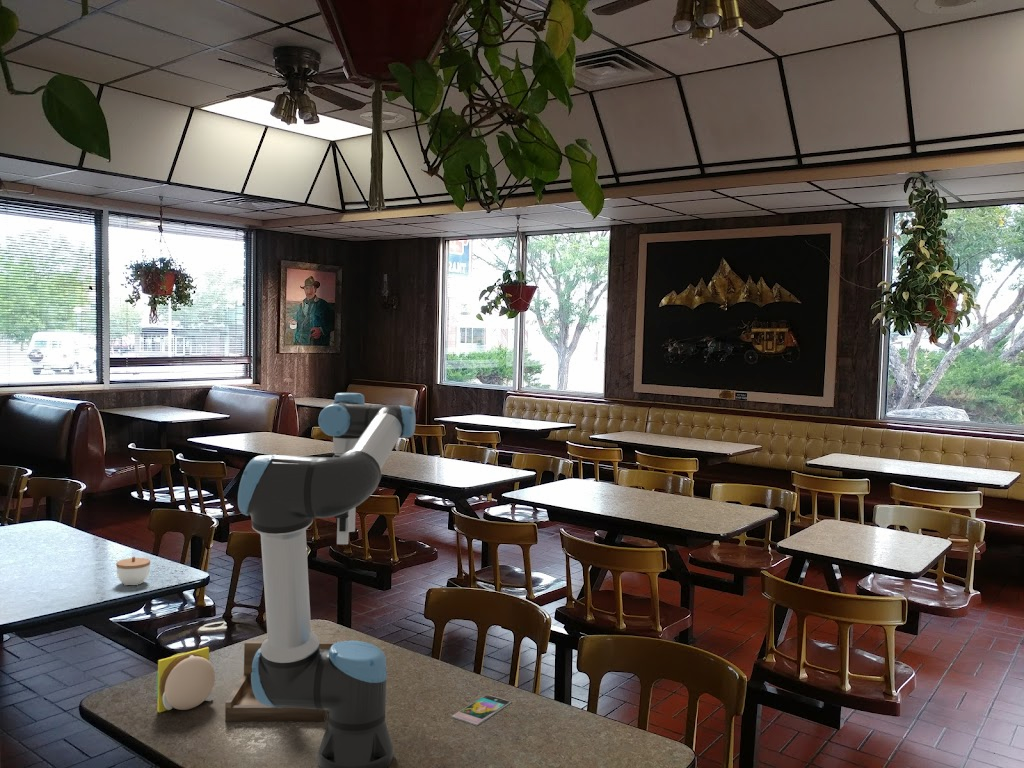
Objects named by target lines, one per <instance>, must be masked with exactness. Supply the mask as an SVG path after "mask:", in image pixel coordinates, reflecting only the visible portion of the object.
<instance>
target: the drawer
mask: <svg viewBox="0 0 1024 768" xmlns="http://www.w3.org/2000/svg"><path fill="white" fill-rule="evenodd" d="M265 640H266V639H264V640H263V639H262V640H261V639H258V640H257V639H255V640H249V639H247V640H245V641H244V643H243V645H244V647H243V649H244V650H243V651H244V653H243V675H242V676H241V677H240V679H239V681H238V683H237V684H236V685H235V687H234V688H233V691H231V693H230V695H229V696H228V698H227V699H226V701H225V715H224V716H225V718H224V721H225V722H229V723H231V722H232V723H233V722H237V723H238V722H239V723H242V722H248V723H249V722H252V723H253V722H259V723H262V722H271V723H272V722H274V723H275V722H276V723H277V722H278V723H279V722H281V723H282V722H285V723H286V722H293V723H294V722H295V723H297V722H298V723H299V722H303V723H304V722H306V723H309V722H311V723H312V722H317V723H318V722H322V723H323V722H325V721H326V718H327V717H328V710H321V709H304V708H288V707H284V708H278V707H274V706H266V705H263V704H261V703H259V702H258V700H257V699H256V698H255V696H254V693H253V690H252V684H251V673H252V663H253V659H254V656H255V654H256V652H257V651H258V650H259V649H260V648H261V645H262V643H263V642H264V641H265ZM337 642H338V640H319V647H320V649H324V650H330V648H331V646H332V645H333V644H335V643H337Z"/></svg>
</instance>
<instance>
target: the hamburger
mask: <svg viewBox="0 0 1024 768" xmlns="http://www.w3.org/2000/svg"><path fill="white" fill-rule="evenodd" d="M214 669H215V668H214V667H213V665H212V663H211V662H210V648H209V646H206V647H203V648H199V649H194V650H192V651H187V652H179V653H176V654H173V655H171V656H169V657H166V658H161V659H158V660H157V672H156V678H155V681H156V682H155V684H156V699H157V703H156V704H157V706H156V707H157V709H156V710H157V711H156V712H157V713H162V712H165V711H170V710H172V709H176V710H178V711H179V710H180V711H187V710H192V709H194V708H196V707H197V706H199V705H201V704H202V703H203V702H212V701H213V699H214V694H213V693H212V690H213V687H214V686H215V685H214V684H215V682H216V680H215V679H216V675H215V673H216V672H215V670H214Z"/></svg>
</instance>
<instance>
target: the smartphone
mask: <svg viewBox="0 0 1024 768" xmlns="http://www.w3.org/2000/svg"><path fill="white" fill-rule="evenodd" d="M511 703H512V701H510V700H507V699H503V698H501V697H498V696H493V695H490V694H485V695H484V696H481V697H480V698H479V699H477V700H475V701H474V702H472V703H470V704H469V705H468V706H466V707H463V708H462V709H460V710H459V711H458V712H455V713H454V714H453V715H451V718H452V719H453V720H454V719H455V720H458V721H461V722H464V723H466V724H470V725H473V726H479V725H480V724H482V723H483V722H485V721H486V720H488V719H489V718H491V717H493V716H494V715H496V713H498V712H499V711H501V710H503V709H505V708H506V707H507V706H509V705H510V704H511Z"/></svg>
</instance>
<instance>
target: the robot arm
mask: <svg viewBox="0 0 1024 768" xmlns="http://www.w3.org/2000/svg"><path fill="white" fill-rule="evenodd" d="M416 421H417V418H416V411H415V409H414V407H412V406H408V405H400V404H398V405H396V404H395V405H394V404H393V405H392V404H391V405H390V404H367V403H365V395H364V394H362V393H359V392H337V393H336V394H335V396H334V400H333V403H331V404H328V405H326V407H324V408H323V409H321V411H320V413H319V416H318V420H317V422H318V426H319V428H320V430H321V431H322V433H324V434H325V435H327V436H330V437H333V438H332V443H333V444H332V452H333V453H334V455H332V457H330V456H329V457H328V456H327V457H326V456H322V457H321V456H302V455H301V456H299V455H280V454H279V455H278V454H276V453H275V454H268V455H267V454H264V455H261V454H260V455H257V456H255V457H252V459H250V460H249V462H248V463H247V464H246V466H245V469H244V470H243V473H242V475H241V478H240V480H239V481H240V482H239V486H238V491H237V506H238V507H237V508H238V509H239V513H241V514H242V515H243V516H244V515H245V516H247V517H248V516H250V517H251V518H250V519H251V528H252V530H253V531H255V532H256V533H258V534H259V535H260V544H261V545H260V547H261V559H262V560H261V561H262V572H263V573H262V576H263V588H264V589H263V590H264V603H265V604H264V605H265V617H266V618H265V620H266V633H267V636H266V637H267V638H266V639H264V640H265V641H264V642H263V643H262V645H261V648H260V649H259V650H258V651H257V652H256V654H255V656H254V659H253V663H252V673H251V684H252V690H253V693H254V696H255V698H256V699H257V700H258V702H259V703H261V704H263V705H266V706H274V707H278V708H284V707H288V708H304V709H321V710H328V713H327V725H326V729H325V731H324V732H323V733H324V734H323V736H322V740H321V741H320V745H319V748H318V752H317V753H318V756H317V757H318V759H317V760H318V761H317V763H318V766H319V768H387V767H389V766H390V764H391V763H392V761H393V759H394V758H393V757H394V745H393V741H392V739H391V735H390V732H389V730H388V726H387V723H386V702H387V678H388V671H387V656H386V655H385V652H384V651H383V650H382V649H380V647H378V646H377V645H375V644H372V643H370V642H365V641H361V640H353V639H352V640H350V639H349V640H347V641H345V640H341V641H337V643H335V644H333V645H332V646H331V648H330V650H324V649H320V647H319V641H320V639H319V637H318V635H316V633H314V632H313V631H312V623H311V605H310V585H309V582H310V581H309V567H308V566H309V565H308V564H309V563H308V562H309V561H308V548H307V545H308V544H307V543H308V542H307V529H308V528H309V527H310V526H311V525H312V524H313V523H314V522H313V521H314V518H315V519H327V518H332V517H333V518H334V519H337V523H336V525H337V526H336V527H337V528H336V545H349V539H350V538H349V534H350V533H355V532H356V509H357V508H356V507H359V506H360V505H361V504H362V503H364V502H365V501H366V500H367V499H368V498H370V497H371V496H372V495H373V494H374V492H375V491H376V489H377V488H378V486H379V483H380V482H381V479H382V469H383V468H384V466H385V464H386V461H387V460H388V459H389V456H390V454H391V452H392V451H393V450H394V447H395V446H396V443H397V442H398V440H399V439H404V438H412V437H413V436H414V434H415V430H416Z"/></svg>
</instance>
